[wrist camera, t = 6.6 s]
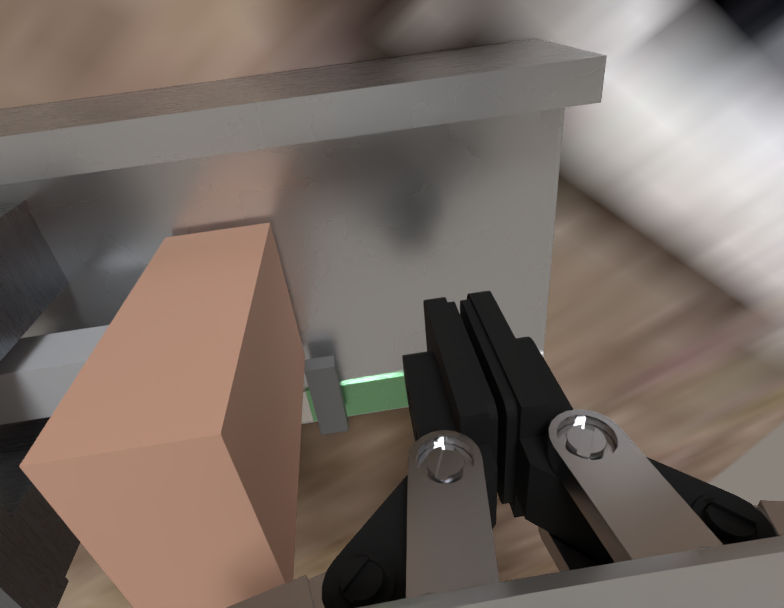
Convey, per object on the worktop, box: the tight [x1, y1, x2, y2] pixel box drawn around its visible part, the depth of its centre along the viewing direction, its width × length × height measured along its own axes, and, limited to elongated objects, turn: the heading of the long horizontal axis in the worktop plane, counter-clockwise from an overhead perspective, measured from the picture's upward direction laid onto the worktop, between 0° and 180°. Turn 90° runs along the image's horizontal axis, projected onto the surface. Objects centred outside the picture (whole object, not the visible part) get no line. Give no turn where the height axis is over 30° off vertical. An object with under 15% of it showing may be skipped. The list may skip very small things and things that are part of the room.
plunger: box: [0, 223, 349, 608], centre depth 13 cm, size 15×8×8 cm, turn 96°
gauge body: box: [0, 39, 607, 608], centre depth 14 cm, size 18×12×10 cm, turn 96°
